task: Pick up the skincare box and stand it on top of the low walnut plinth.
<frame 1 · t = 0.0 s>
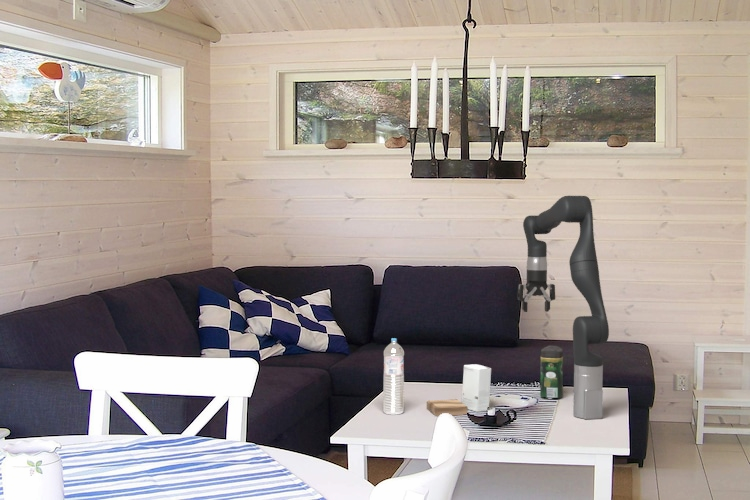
hand: (536, 311, 352), 29 cm above the table, fingers open, 8 cm apart
skincare box: (476, 409, 320), on the table
plinth: (446, 411, 315), on the table
coffee jar: (551, 397, 340), on the table
water bottle: (393, 413, 313), on the table
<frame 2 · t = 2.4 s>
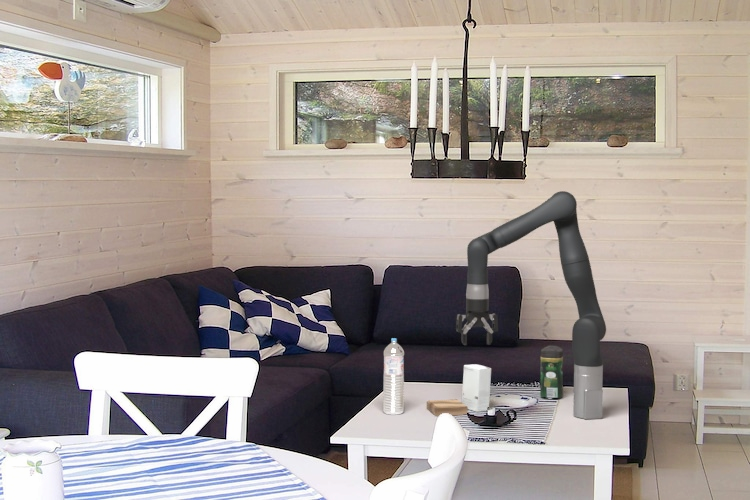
hand: (476, 344, 319), 22 cm above the table, fingers open, 8 cm apart
nothing on the table moved.
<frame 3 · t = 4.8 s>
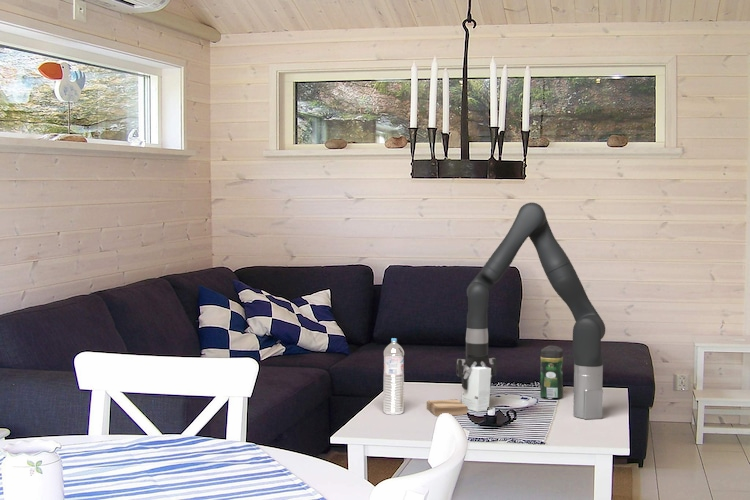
hand: (476, 388, 319), 7 cm above the table, fingers closed on skincare box, 7 cm apart
skincare box: (476, 409, 320), on the table, touching gripper
everything else where it was.
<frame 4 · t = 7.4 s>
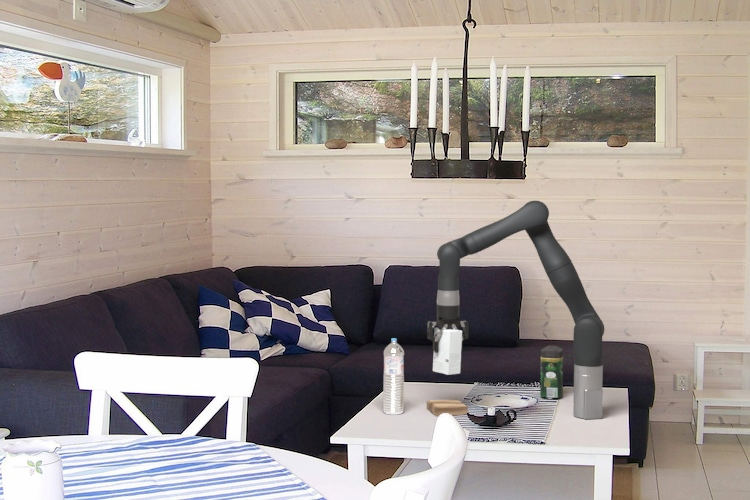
hand: (447, 352, 314), 20 cm above the table, fingers closed on skincare box, 7 cm apart
skincare box: (447, 373, 315), point 13 cm above the table, touching gripper
everything else where it was.
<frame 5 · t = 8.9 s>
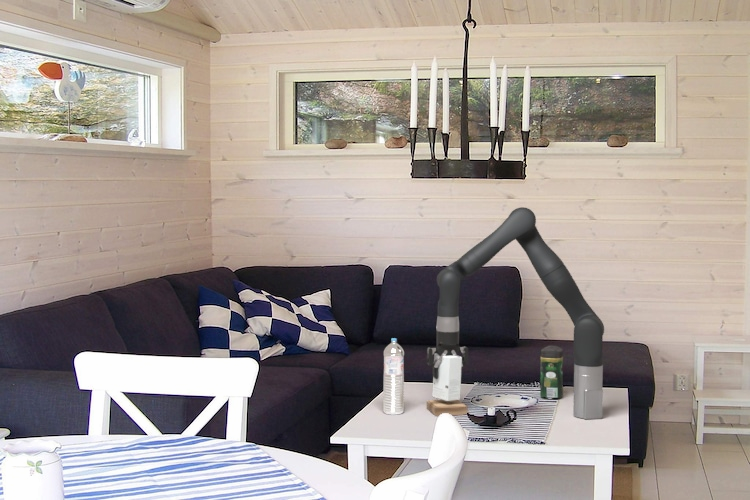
hand: (447, 378, 315), 11 cm above the table, fingers closed on skincare box, 7 cm apart
skincare box: (446, 399, 315), point 4 cm above the table, touching gripper
everything else where it was.
when the fingers open (11 cm above the table, at t = 9.9 s): skincare box drops 1 cm, resting on plinth.
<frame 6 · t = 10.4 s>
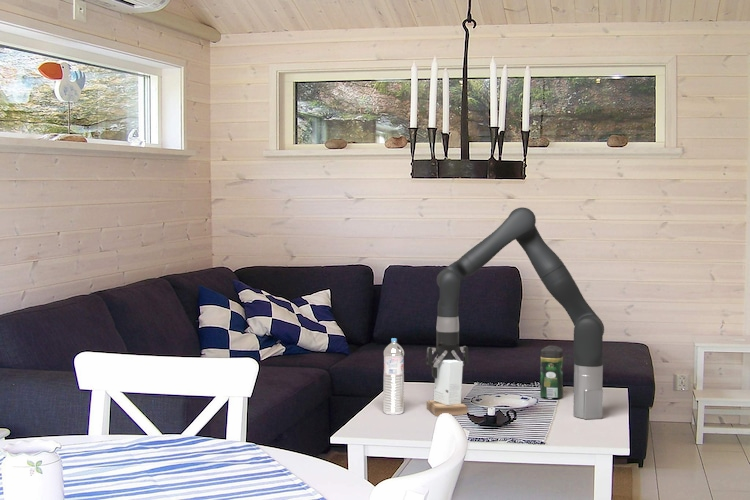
hand: (447, 377, 315), 12 cm above the table, fingers open, 8 cm apart
skincare box: (448, 403, 315), point 3 cm above the table, touching gripper, plinth
everything else where it was.
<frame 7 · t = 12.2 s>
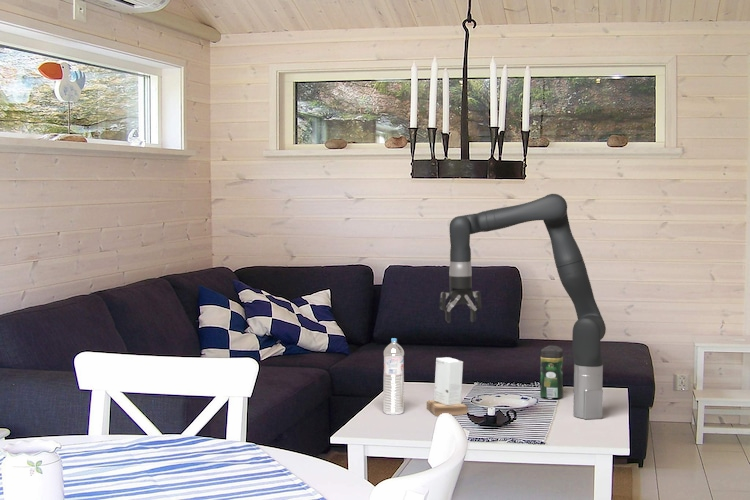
hand: (460, 322, 319), 30 cm above the table, fingers open, 8 cm apart
skincare box: (448, 403, 315), point 3 cm above the table, touching plinth
everything else where it was.
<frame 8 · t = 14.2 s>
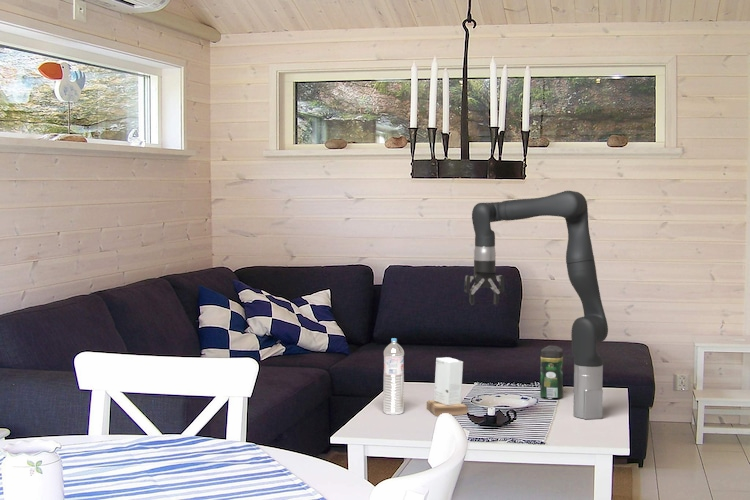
hand: (484, 304, 332), 34 cm above the table, fingers open, 8 cm apart
nothing on the table moved.
at the end: skincare box inside the target area on the plinth (0.5 cm from its centre), point 2.8 cm above the plinth's base; skincare box tilted 0°; the gripper is holding nothing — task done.
